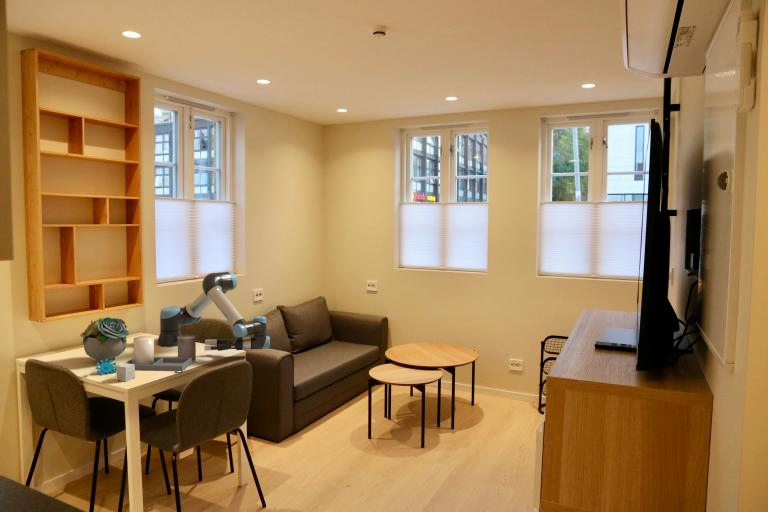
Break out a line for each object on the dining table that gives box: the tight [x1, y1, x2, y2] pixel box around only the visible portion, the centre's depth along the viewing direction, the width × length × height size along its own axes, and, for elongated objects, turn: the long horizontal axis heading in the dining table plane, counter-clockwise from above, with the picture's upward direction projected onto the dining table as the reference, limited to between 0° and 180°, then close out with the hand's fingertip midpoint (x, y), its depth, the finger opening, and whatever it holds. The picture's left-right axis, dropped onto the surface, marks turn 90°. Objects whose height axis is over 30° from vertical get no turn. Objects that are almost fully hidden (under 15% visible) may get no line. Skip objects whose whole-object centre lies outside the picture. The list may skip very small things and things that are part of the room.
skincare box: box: [115, 362, 136, 382], centre depth 263 cm, size 6×6×7 cm
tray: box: [125, 356, 193, 373], centre depth 284 cm, size 16×31×4 cm, turn 93°
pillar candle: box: [177, 334, 197, 362], centre depth 300 cm, size 10×10×15 cm
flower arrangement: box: [79, 316, 130, 364], centre depth 293 cm, size 25×25×24 cm
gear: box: [95, 359, 117, 376], centre depth 271 cm, size 11×6×10 cm
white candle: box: [133, 335, 155, 365], centre depth 283 cm, size 10×10×15 cm
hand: (204, 345), depth 303 cm, fingers open, 13 cm apart
